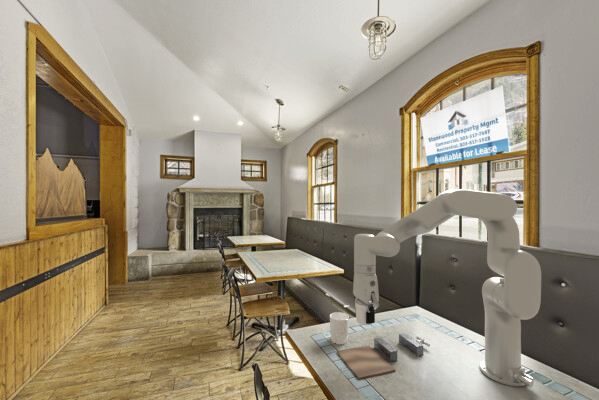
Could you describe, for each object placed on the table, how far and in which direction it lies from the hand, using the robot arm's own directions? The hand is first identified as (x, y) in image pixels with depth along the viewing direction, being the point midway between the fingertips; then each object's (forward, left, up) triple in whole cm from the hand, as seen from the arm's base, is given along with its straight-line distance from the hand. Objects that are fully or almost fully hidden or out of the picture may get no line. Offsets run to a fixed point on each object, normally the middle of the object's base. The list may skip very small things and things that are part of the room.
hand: (364, 318), depth 95 cm
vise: (+2, -18, -15) cm, 24 cm away
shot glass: (0, 0, -1) cm, 1 cm away
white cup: (+16, +2, -16) cm, 22 cm away
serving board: (0, 0, -15) cm, 15 cm away
